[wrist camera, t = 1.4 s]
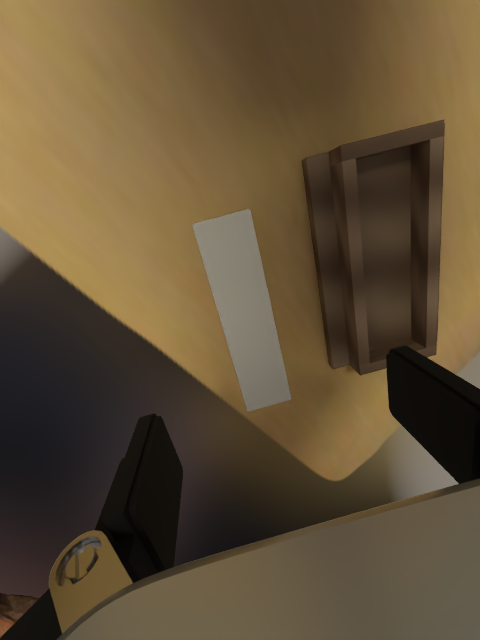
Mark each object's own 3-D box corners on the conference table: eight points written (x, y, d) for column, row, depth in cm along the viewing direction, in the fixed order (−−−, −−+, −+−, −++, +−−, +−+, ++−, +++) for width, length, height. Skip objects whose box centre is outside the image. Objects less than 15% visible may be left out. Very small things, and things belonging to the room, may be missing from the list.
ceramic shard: (13, 609, 29) (102, 640, 36) (35, 541, 34) (108, 580, 42) (-126, 690, 27) (-5, 705, 35) (-80, 605, 33) (16, 633, 40)
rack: (301, 160, 21) (316, 151, 19) (434, 127, 22) (468, 113, 19) (329, 364, 28) (342, 380, 26) (429, 337, 29) (453, 349, 26)
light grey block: (196, 222, 22) (191, 224, 16) (237, 211, 22) (249, 208, 16) (238, 366, 27) (247, 412, 21) (271, 356, 27) (291, 399, 21)
